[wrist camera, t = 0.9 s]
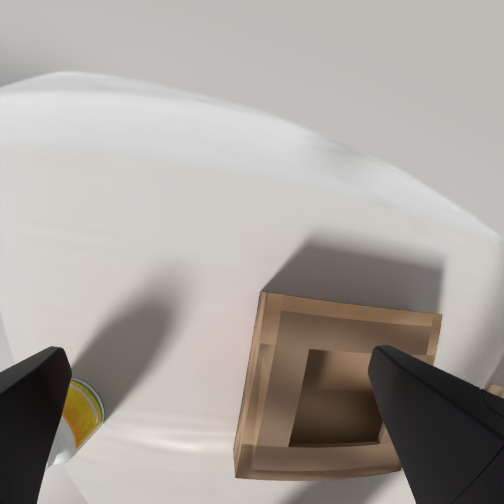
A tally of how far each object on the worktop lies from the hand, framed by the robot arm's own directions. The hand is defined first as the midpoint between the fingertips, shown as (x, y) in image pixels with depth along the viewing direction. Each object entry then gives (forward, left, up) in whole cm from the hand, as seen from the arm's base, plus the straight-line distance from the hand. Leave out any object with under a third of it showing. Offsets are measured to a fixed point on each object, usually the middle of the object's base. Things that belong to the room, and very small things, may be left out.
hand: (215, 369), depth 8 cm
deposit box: (-5, -10, -15) cm, 19 cm away
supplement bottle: (-11, +11, -16) cm, 22 cm away
